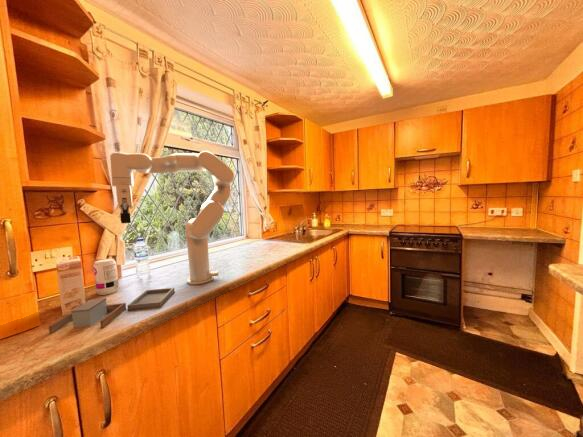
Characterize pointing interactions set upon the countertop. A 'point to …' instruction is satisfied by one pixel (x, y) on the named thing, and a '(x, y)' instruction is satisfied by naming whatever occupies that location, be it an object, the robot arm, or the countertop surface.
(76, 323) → the grey rectangular box
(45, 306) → the countertop surface
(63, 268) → the coffeecake box
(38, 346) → the countertop surface
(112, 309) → the frame
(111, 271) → the supplement can
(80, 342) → the countertop surface
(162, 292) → the tray
